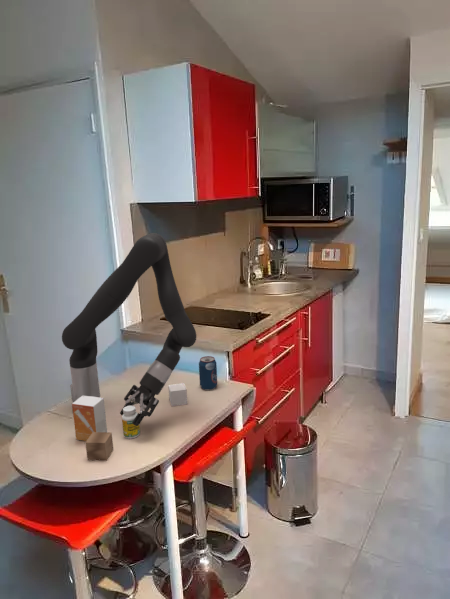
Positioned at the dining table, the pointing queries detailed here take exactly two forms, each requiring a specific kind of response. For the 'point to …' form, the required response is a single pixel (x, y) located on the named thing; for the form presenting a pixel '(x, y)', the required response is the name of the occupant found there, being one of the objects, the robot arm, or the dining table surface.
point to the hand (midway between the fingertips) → (128, 420)
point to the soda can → (208, 373)
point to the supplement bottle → (130, 422)
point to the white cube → (177, 394)
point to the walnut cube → (99, 446)
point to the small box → (89, 416)
